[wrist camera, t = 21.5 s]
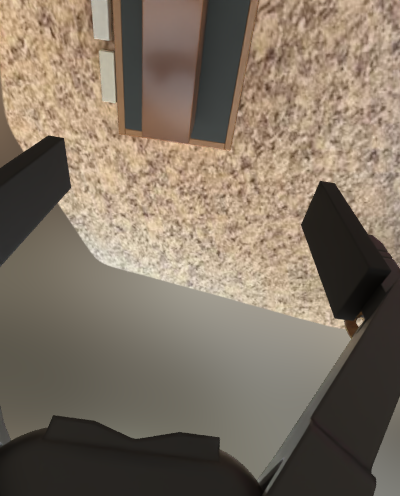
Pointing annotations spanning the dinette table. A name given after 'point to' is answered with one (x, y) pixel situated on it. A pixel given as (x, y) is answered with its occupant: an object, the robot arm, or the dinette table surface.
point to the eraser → (171, 66)
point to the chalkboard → (212, 70)
